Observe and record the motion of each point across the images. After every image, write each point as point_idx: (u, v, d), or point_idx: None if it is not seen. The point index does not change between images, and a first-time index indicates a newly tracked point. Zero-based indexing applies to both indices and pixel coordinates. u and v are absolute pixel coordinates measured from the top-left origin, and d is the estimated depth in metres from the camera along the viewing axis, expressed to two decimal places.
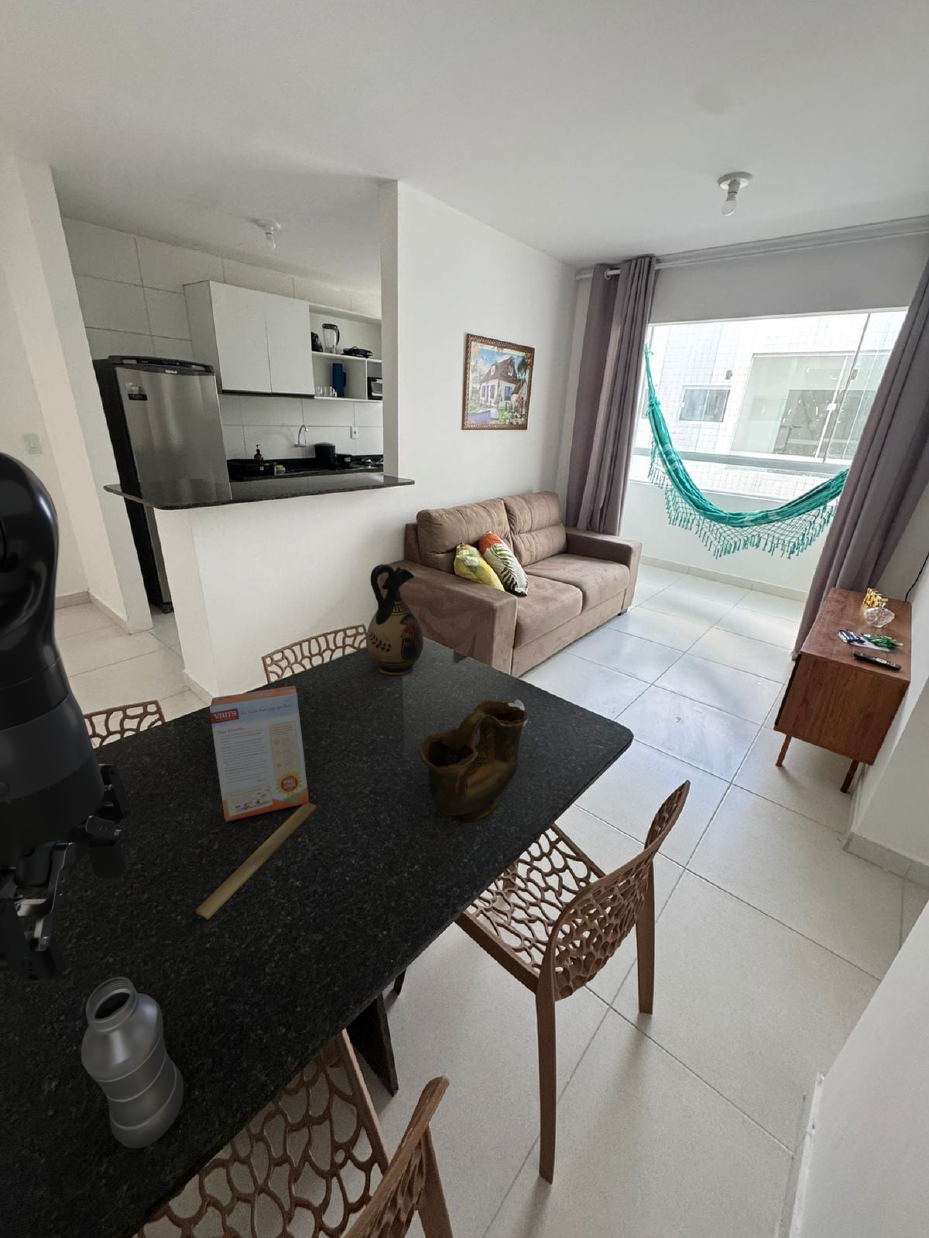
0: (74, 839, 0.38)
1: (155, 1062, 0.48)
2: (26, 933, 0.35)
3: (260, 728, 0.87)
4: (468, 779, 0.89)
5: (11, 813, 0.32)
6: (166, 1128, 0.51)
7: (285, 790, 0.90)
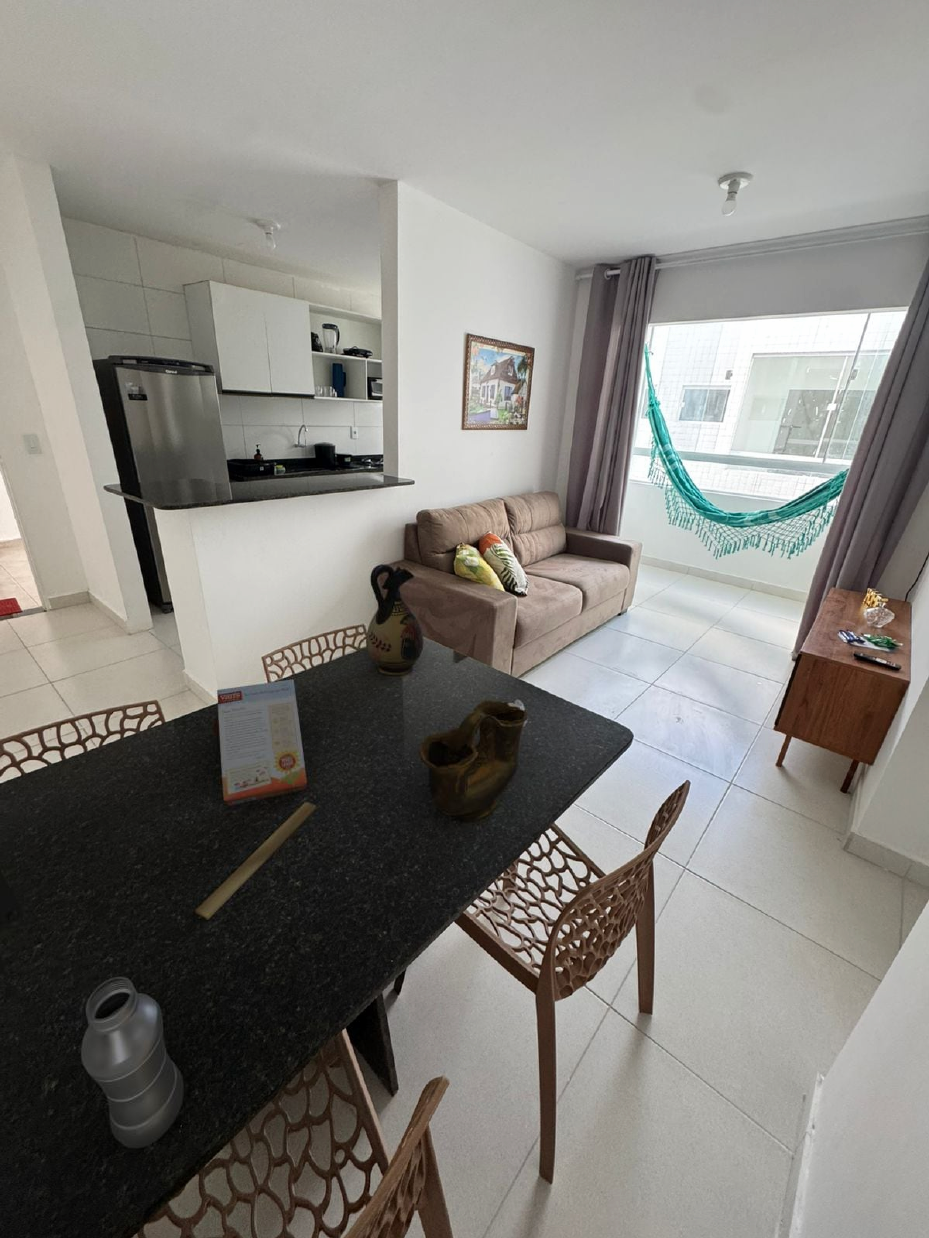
0: None
1: (155, 1062, 0.48)
2: None
3: (260, 708, 0.97)
4: (468, 779, 0.89)
5: None
6: (166, 1128, 0.51)
7: (283, 768, 0.93)
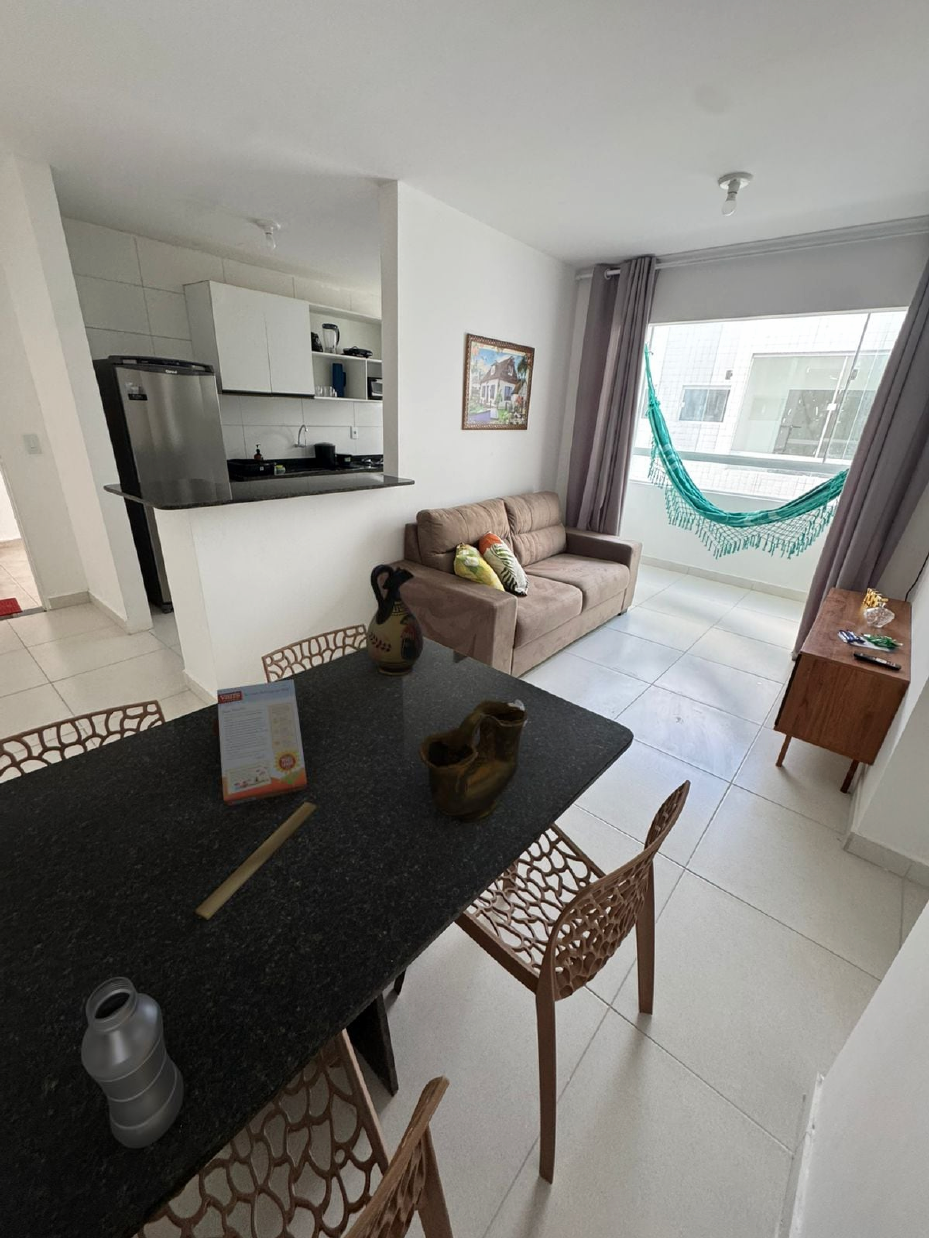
0: None
1: (155, 1062, 0.48)
2: None
3: (260, 708, 0.97)
4: (468, 779, 0.89)
5: None
6: (166, 1128, 0.51)
7: (283, 768, 0.93)
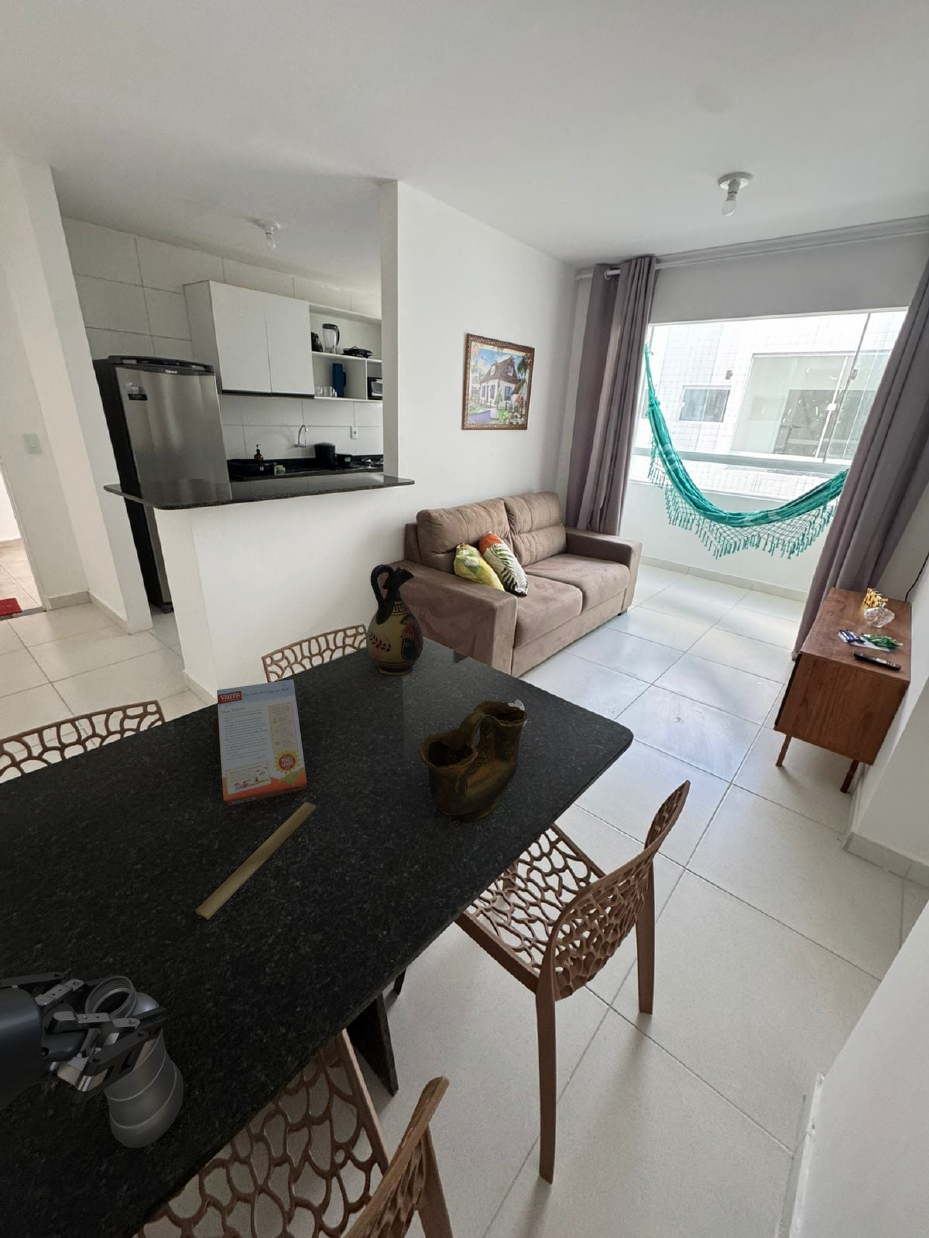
0: None
1: (155, 1061, 0.48)
2: None
3: (260, 708, 0.97)
4: (468, 779, 0.89)
5: None
6: (166, 1128, 0.51)
7: (283, 768, 0.93)
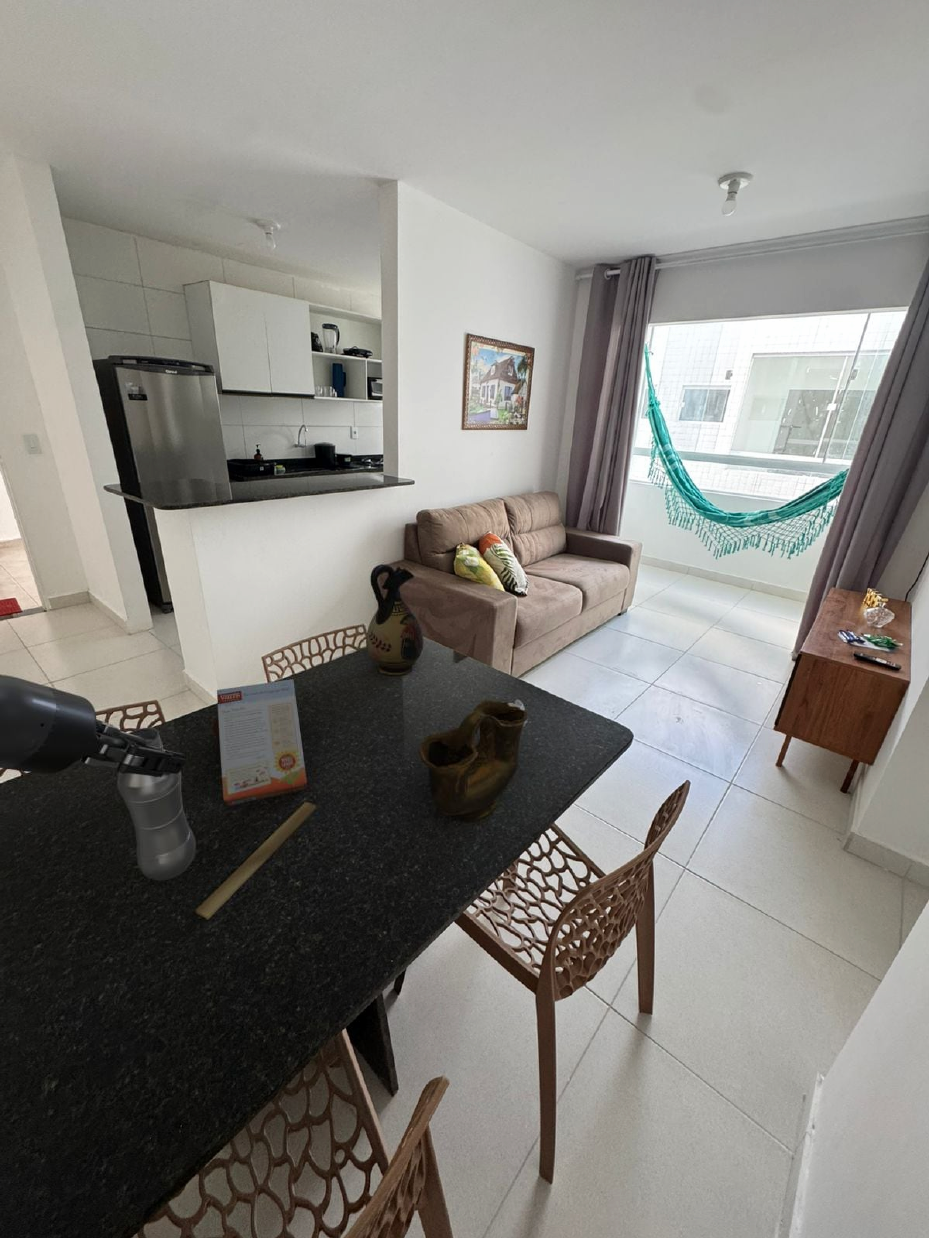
0: None
1: (175, 802, 0.60)
2: None
3: (260, 708, 0.97)
4: (468, 779, 0.89)
5: None
6: (182, 868, 0.63)
7: (283, 768, 0.93)
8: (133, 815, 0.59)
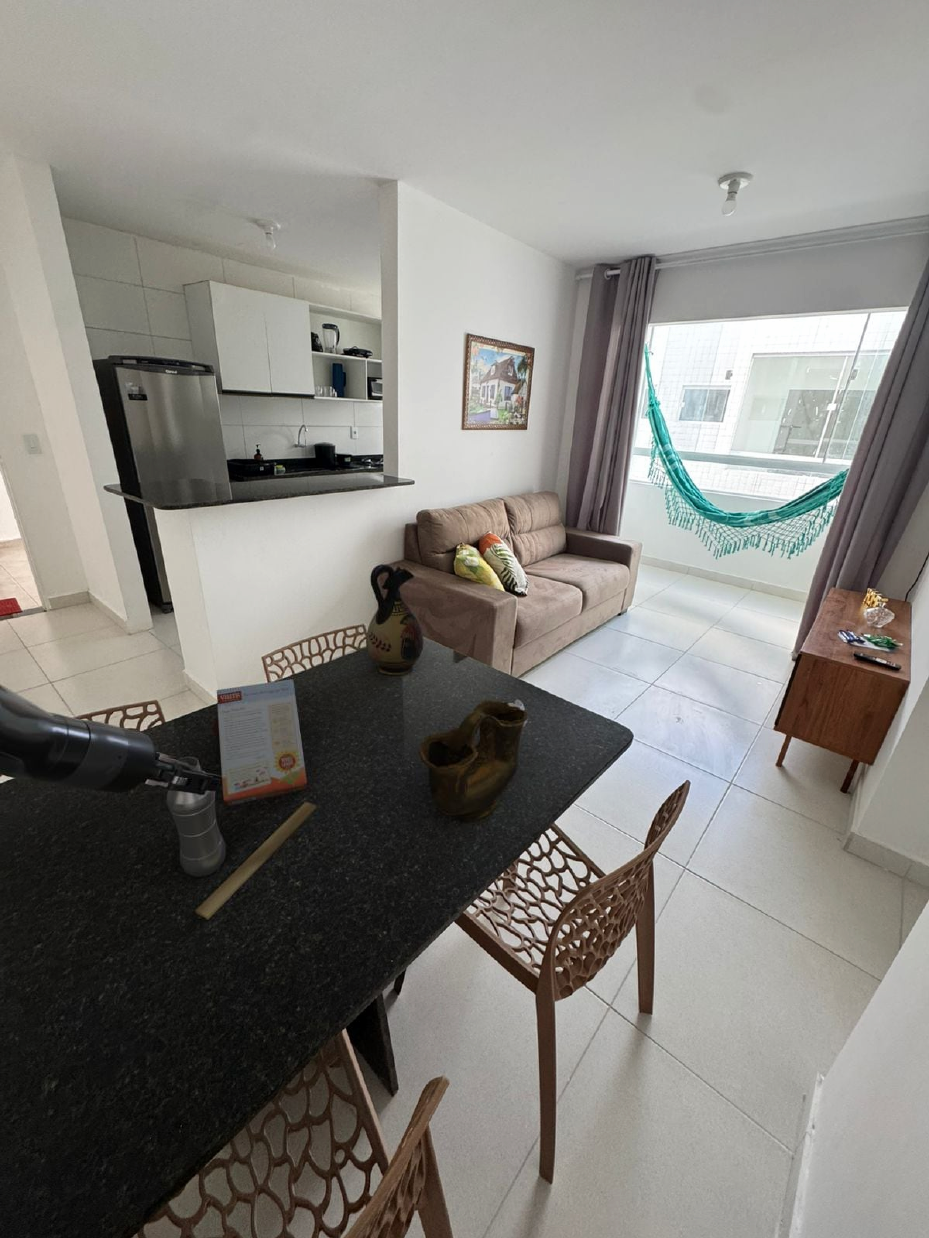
0: None
1: (210, 815, 0.76)
2: None
3: (260, 708, 0.97)
4: (468, 779, 0.89)
5: None
6: (215, 867, 0.79)
7: (283, 768, 0.93)
8: (178, 825, 0.74)
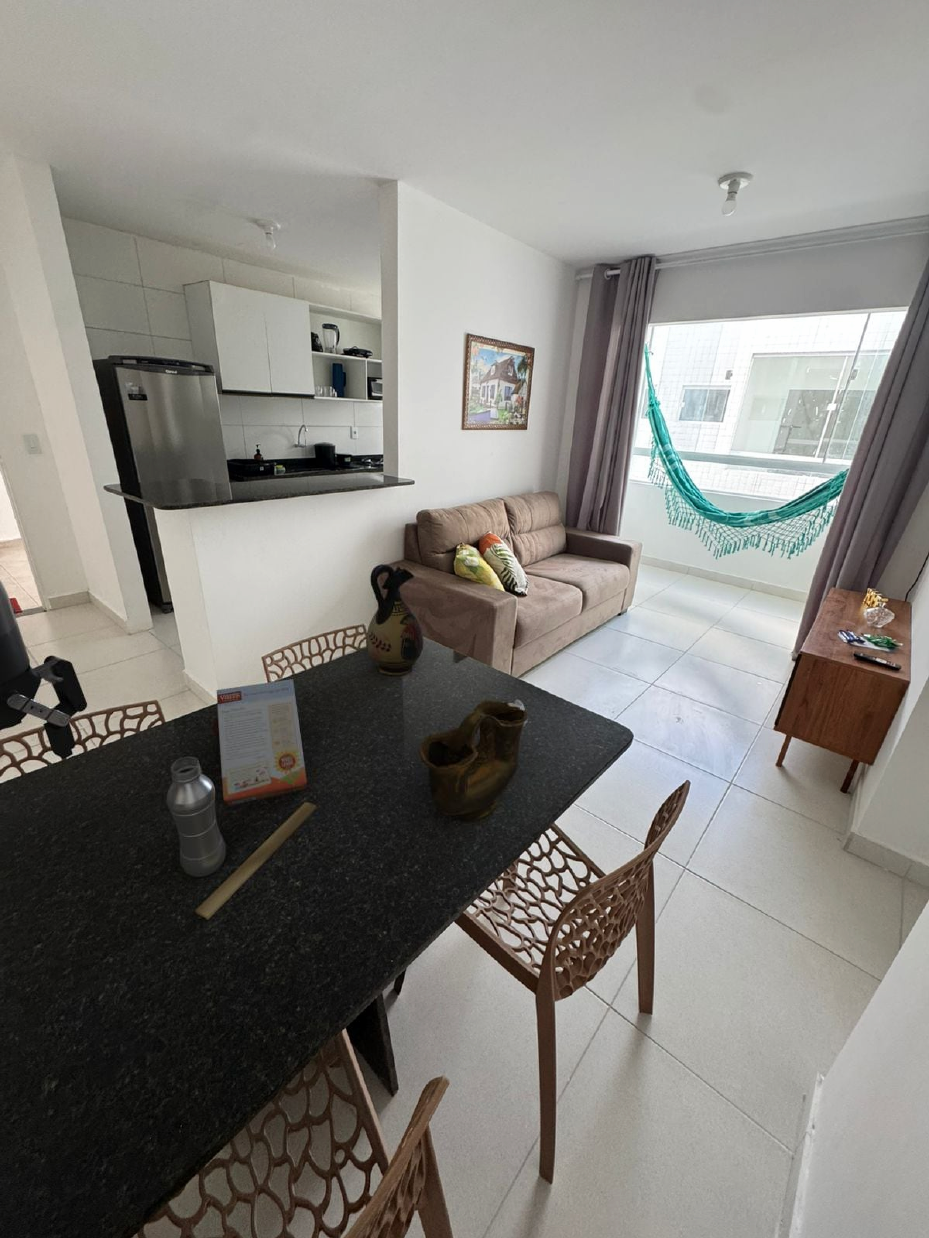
0: (0, 709, 0.46)
1: (210, 815, 0.76)
2: None
3: (260, 708, 0.97)
4: (468, 779, 0.89)
5: None
6: (215, 867, 0.79)
7: (283, 768, 0.93)
8: (178, 825, 0.74)
